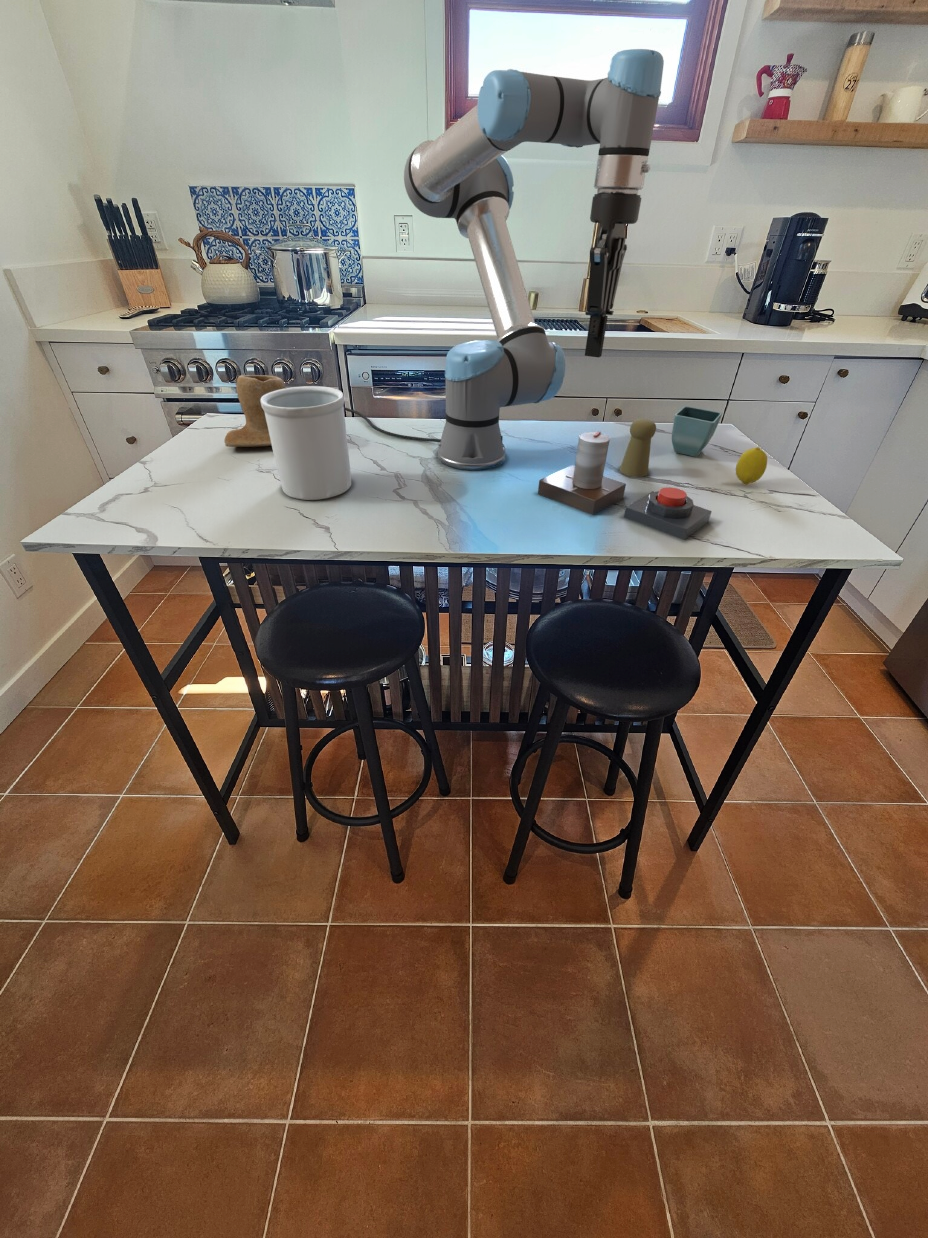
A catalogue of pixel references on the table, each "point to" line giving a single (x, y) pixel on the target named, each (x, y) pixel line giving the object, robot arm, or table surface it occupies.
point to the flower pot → (693, 429)
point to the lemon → (751, 465)
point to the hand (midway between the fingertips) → (593, 355)
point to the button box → (667, 515)
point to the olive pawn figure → (638, 448)
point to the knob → (590, 460)
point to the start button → (672, 496)
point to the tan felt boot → (253, 410)
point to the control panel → (580, 491)
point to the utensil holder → (309, 440)
